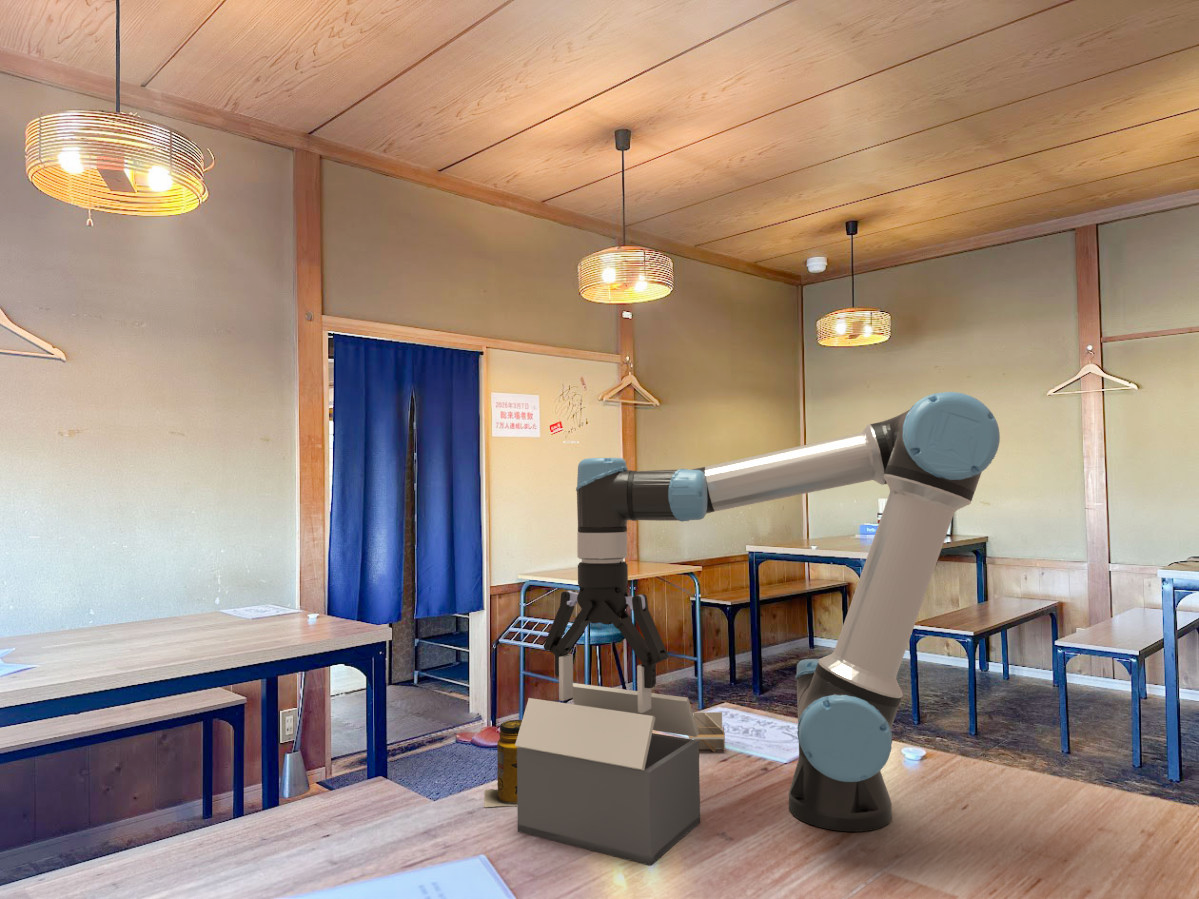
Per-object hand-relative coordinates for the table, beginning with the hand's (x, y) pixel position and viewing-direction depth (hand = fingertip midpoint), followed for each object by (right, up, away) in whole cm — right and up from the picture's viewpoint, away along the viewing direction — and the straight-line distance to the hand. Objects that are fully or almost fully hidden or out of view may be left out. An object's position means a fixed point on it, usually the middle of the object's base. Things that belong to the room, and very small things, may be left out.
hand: (604, 704), depth 116 cm
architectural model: (+21, -21, +35) cm, 45 cm away
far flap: (+4, -3, +6) cm, 8 cm away
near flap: (-3, -2, -5) cm, 6 cm away
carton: (+1, -18, 0) cm, 18 cm away
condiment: (-15, -19, +12) cm, 27 cm away
